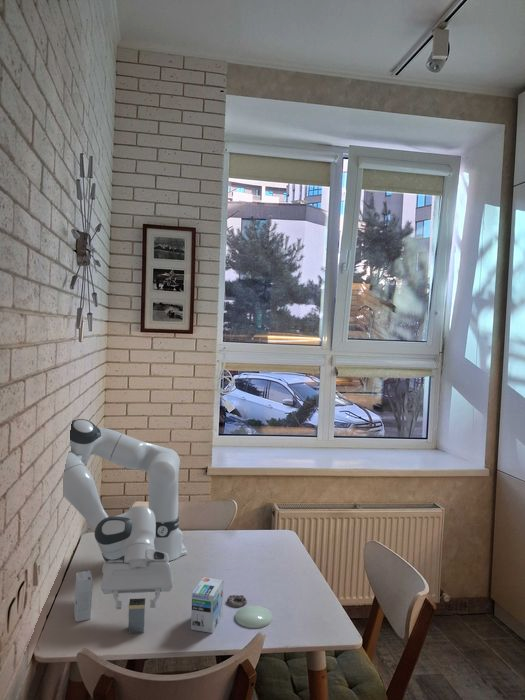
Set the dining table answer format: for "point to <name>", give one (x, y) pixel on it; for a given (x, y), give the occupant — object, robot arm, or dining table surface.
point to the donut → (236, 598)
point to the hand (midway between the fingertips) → (135, 608)
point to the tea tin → (136, 616)
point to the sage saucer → (253, 616)
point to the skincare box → (83, 596)
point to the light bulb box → (207, 605)
